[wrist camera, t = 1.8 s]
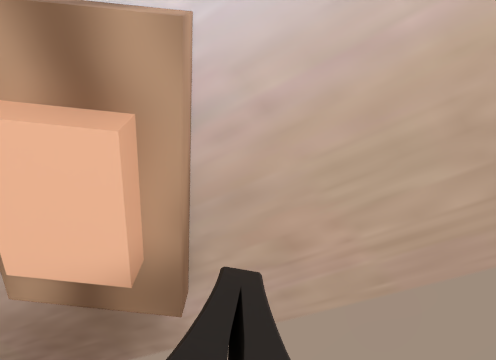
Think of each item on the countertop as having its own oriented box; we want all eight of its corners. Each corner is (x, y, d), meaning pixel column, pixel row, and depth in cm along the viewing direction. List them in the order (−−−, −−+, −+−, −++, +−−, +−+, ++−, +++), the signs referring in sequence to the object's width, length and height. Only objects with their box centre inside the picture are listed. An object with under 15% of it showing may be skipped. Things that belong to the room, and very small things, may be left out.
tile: (30, 248, 20) (6, 275, 18) (-7, 99, 16) (-41, 114, 14) (143, 260, 20) (131, 288, 18) (135, 114, 16) (118, 131, 14)
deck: (28, 274, 23) (9, 299, 22) (-46, -13, 16) (-86, -12, 14) (188, 291, 23) (181, 317, 22) (192, 11, 16) (182, 16, 14)
